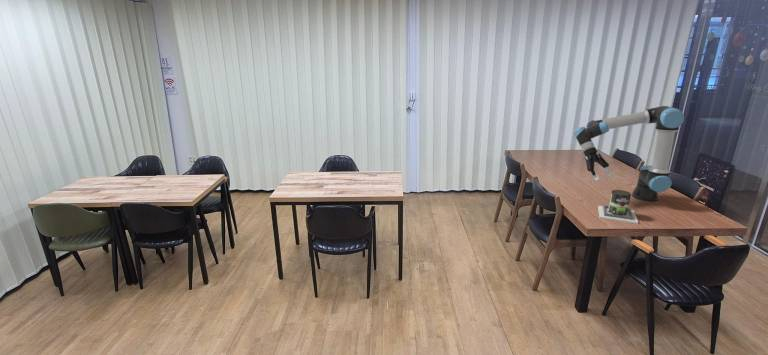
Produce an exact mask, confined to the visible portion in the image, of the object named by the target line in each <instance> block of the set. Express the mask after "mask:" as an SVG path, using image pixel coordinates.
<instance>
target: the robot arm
mask: <svg viewBox="0 0 768 355" xmlns="http://www.w3.org/2000/svg"><path fill="white" fill-rule="evenodd" d="M684 121H685V114H684V113H683V112H682V111H681V110H680V109H678V108H677V107H671V106H668V105H663V106H661V105H660V106H656V107H651V108H647V109H644V110H643V111H639V112H635V113H630V114H625V115H618V116H614V117H608V118H602V119H597V120H589V121H588V122H587V123H586V125H585V126H581V127H578V128H576V129H575V130H574V131H573V134H574V135H575V136H574V137H575V139H576V141H577V142H578V145H579V146H580V148H581V150H582V151H583V154H584V156H585V157H584V160H585V163H586V169H587V171H588V172H589V173H590V172H591V175H592V176H593V178H594V181H598V180H600V179H601V178H600V176H599V174H598V172H597V171H596V170H597V169H595V163H597V164H598V165H600V166H601V167H602V169H603V172H604V173H605V175H606V176H607V178H610V177H612V176H613V174H612V172H611V170H610V169H609V167H610V164H609V163H608V161H606V159H604V157H603V156H602V155H601V153H598V150H597V148H596V147H595V144H594V142H593V140H592V139H594V138H596V137H599V136H602V135H605V134H606V133H608V132H609V131H610V130H612V129H613V130H614V129H618V128H623V127H624V128H625V127H629V126H635V125H639V124H647V125H649V124H655V130H656V131H657V136H656V142H655V148H654V153H653V159H652V165H642V166H640V169H639V174H638V179H637V184H636V186H635V188H634V189H633V191H632V193H631V197H633V198H634V199H636V200H640V201H646V202H656V201H657V202H658V200H659V193H662V192H665V191H667V190H668V189H670V187H671V186H672V183H673V182H672V179H671V170H670V169H669V166H670V160H671V155H672V152H673V151H672V150H673V145H674V139H675V135H676V134H675V133H676V132H678V131H679V130H680V126H682V125H683V123H684ZM597 153H598V154H597Z"/></svg>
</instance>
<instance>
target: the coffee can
mask: <svg viewBox="0 0 768 355" xmlns="http://www.w3.org/2000/svg"><path fill="white" fill-rule="evenodd" d="M610 194H611V195H610V200H609V204H608V206H609V209H608V213H609V214H615V215H621V216H627V211H628V209H629V205H630V200H631V197H632V193H631V192H629V191H626V190H622V189H614V190H613V189H612V190H611V193H610Z"/></svg>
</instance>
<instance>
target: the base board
mask: <svg viewBox="0 0 768 355" xmlns="http://www.w3.org/2000/svg"><path fill="white" fill-rule="evenodd" d="M608 209H609V205H597V210H598V217H599V219H603V220H609V221H615V222H616V221H617V222H623V223H629V224H635V225H636V224H637V225H639V220H638V217H637V215H636V212H635V210H633V209H631V208H628V211H627V216H621V215H615V214H609V213H608Z"/></svg>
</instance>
